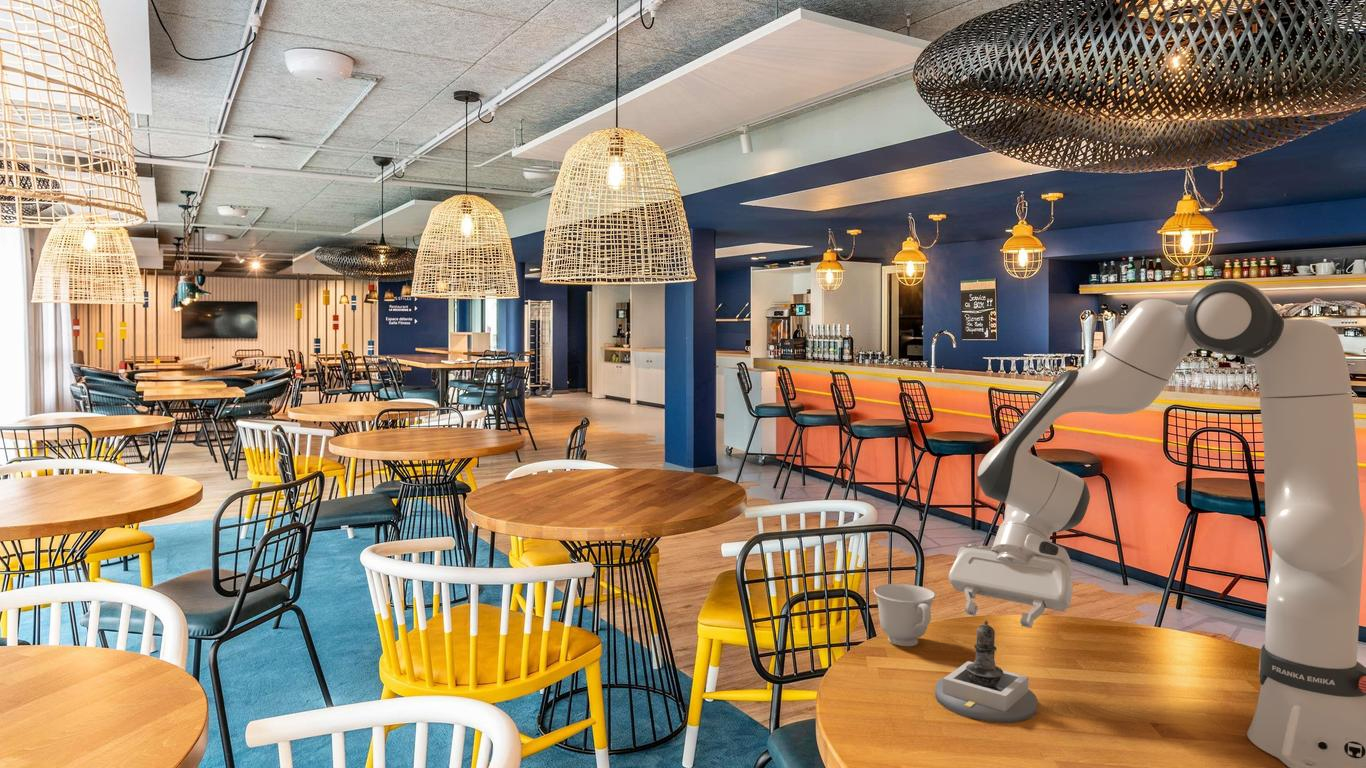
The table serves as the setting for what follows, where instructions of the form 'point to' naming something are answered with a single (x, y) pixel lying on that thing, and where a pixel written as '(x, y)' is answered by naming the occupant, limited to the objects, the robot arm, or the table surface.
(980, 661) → the dark grey tapered piece
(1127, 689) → the table surface
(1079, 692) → the table surface
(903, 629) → the teacup
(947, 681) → the socket stand
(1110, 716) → the table surface
